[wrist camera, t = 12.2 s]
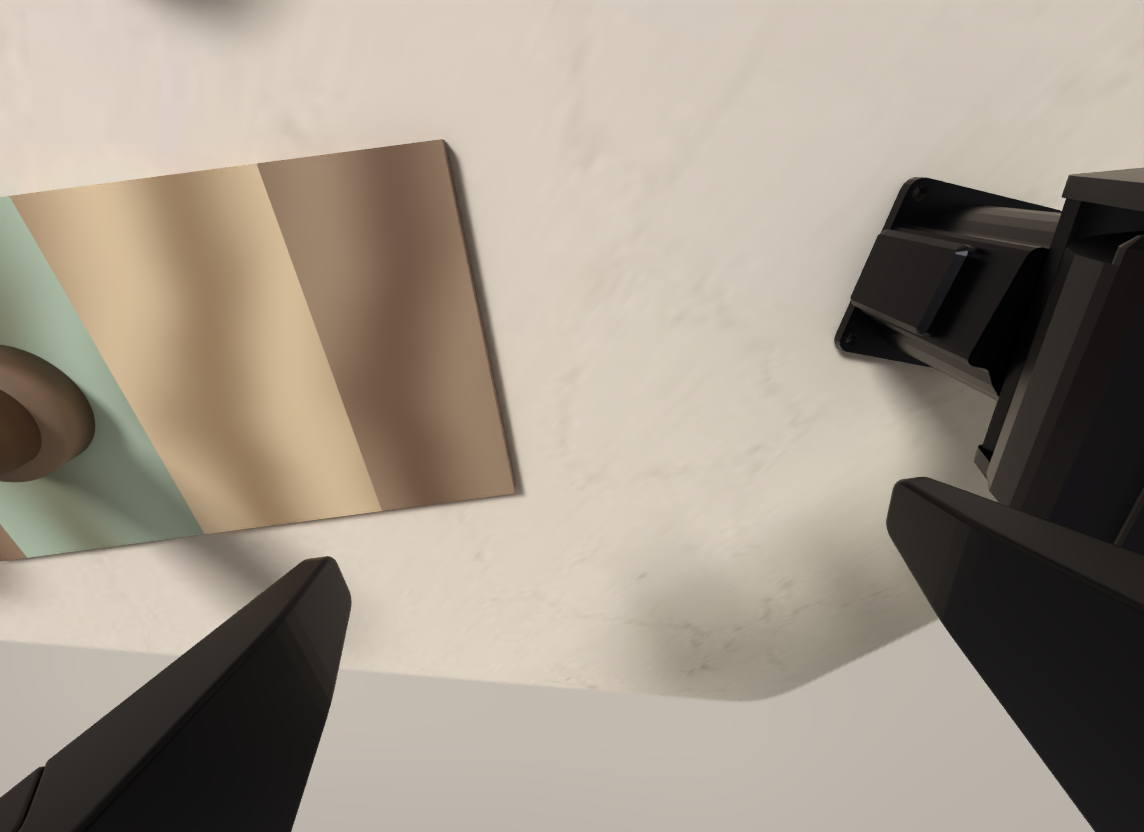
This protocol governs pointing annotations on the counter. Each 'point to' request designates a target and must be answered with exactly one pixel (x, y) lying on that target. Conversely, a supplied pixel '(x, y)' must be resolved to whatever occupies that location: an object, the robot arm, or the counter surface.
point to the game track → (252, 348)
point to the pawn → (39, 417)
